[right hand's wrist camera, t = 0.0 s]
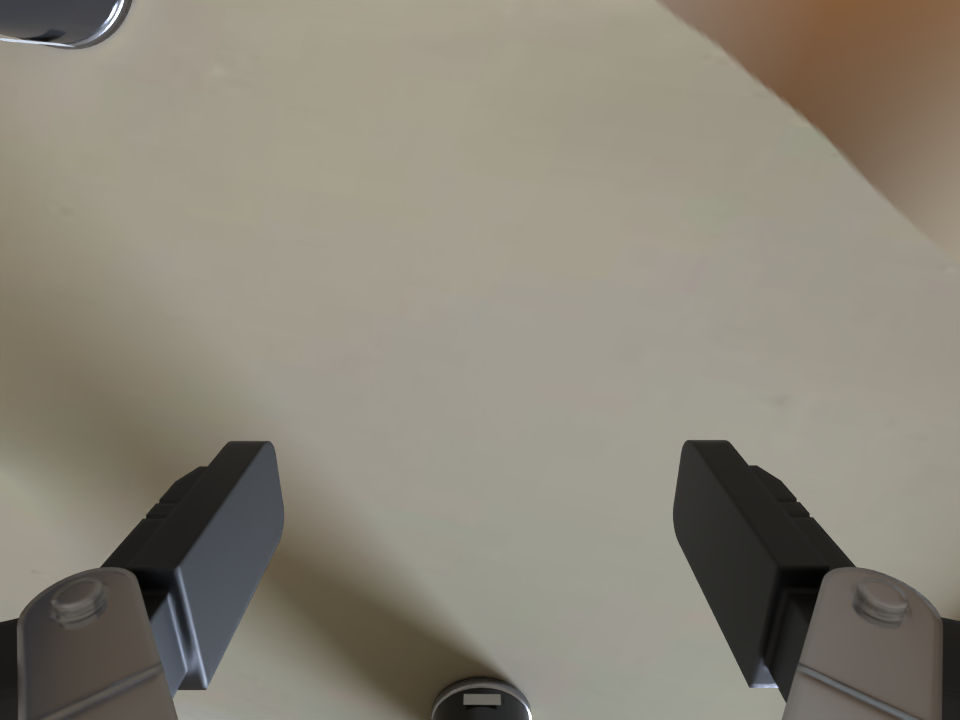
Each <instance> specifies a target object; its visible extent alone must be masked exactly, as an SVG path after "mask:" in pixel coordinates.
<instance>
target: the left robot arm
mask: <svg viewBox="0 0 960 720" xmlns="http://www.w3.org/2000/svg"><path fill="white" fill-rule="evenodd" d="M131 3H132V0H0V34H1V35H6V36H11V37H16V38H20V39H23V40H14V39H2V38H0V40H4V41H11V42H23V43H35V44H41V45H45V46H50V47H55V48H61V49H83V48H87V47H91V46H94V45H96V44H98V43H100V42H102V41H104V40H106V39H107V38H109V37H110V36H111V35H112V34H113V33H114V32H115V31H116V30H117V29H118V28H119V27H120V25H121V24H122V22H123V21H124V19H125V17H126V16H127V14H128V11H129V9H130V6H131ZM26 40H27V41H26Z"/></svg>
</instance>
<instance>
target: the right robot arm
mask: <svg viewBox="0 0 960 720" xmlns="http://www.w3.org/2000/svg"><path fill="white" fill-rule="evenodd" d="M673 522H674V529H675V533H676V537H677V540H678V542H679V544H680V546H681V548H682V550H683V552H684V554H685V556H686V558H687V561H688V563H689V565H690V567H691V569H692V571H693V573H694V575H695V577H696V579H697V581H698V583H699V585H700V587H701V589H702V591H703V593H704V595H705V597H706V599H707V602H708V604H709V606H710V608H711V610H712V612H713V614H714V616H715V618H716V620H717V622H718V624H719V626H720V628H721V630H722V632H723V634H724V636H725V638H726V640H727V643H728V645H729V647H730V649H731V651H732V653H733V655H734V657H735V659H736V661H737V663H738V665H739V667H740V669H741V671H742V673H743V675H744V677H745V679H746V681H747V684H748V686H749V688H778V689H779V691H780V692H781V694H782V696H783V698H784V700H785V702H786V707H785V710H784V714H783V717H782V720H960V621H956V620H951V619H947V618H942V617H940V614H939V613H938V611H937V610H936V608H935V607H934V606H933V605H932V604H931V603H930V602H929V600H927V599H926V598H925V597H924V596H923V595H922V594H920V593H919V592H918V591H916V590H915V589H913V588H912V587H910V586H909V585H907V584H905V583H903V582H901V581H899V580H897V579H895V578H893V577H891V576H888V575H886V574H883V573H880V572H877V571H874V570H869V569H865V568H858V567H856V566H855V565H854V564H853V563H852V562H851V561H850V559H849V558H848V557H847V556H846V555H845V554H844V553H843V551H842V550H841V549H840V548H839V547H838V546H837V545H836V543H835V542H834V541H833V540H832V539H831V538H830V536H829V535H828V534H827V533H826V532H825V531H824V530H823V528H822V527H821V526H820V525H819V524H818V523H817V522H816V520H815V519H814V518H813V517H810V516H809V512H808V511H807V510H806V509H805V508H804V507H803V505H802V504H801V503H800V502H797V500H796V497H795V496H794V495H793V494H792V493H791V492H790V491H789V489H788V488H787V487H786V486H785V485H784V484H783V482H782V481H781V480H779V479H777V478H776V477H774V476H773V475H771V474H769V473H768V472H766V471H765V470H763V469H762V468H760V467H758V466H749V465H748V464H747V463H746V462H745V460H744V459H743V458H742V457H741V456H740V454H739V453H738V452H737V451H736V449H735V448H734V447H733V446H732V444H731V443H730V442H729V441H727V440H687V441H686V442H685V443H684V445H683V448H682V452H681V458H680V465H679V472H678V479H677V486H676V493H675V500H674V507H673ZM283 524H284V507H283V500H282V494H281V487H280V480H279V473H278V467H277V460H276V453H275V449H274V446H273V444H272V443H271V442H270V441H230V442H228V443H227V444H226V445H225V446H224V447H223V449H222V450H221V451H220V452H219V453H218V455H217V456H216V457H215V458H214V460H213V461H212V462H211V463H210V464H209V466H208V467H198V468H197V469H195V470H193V471H192V472H190V473H189V474H187V475H186V476H184V477H182V478H181V479H179V480H178V481H176V482H175V483H174V484H173V485H172V486H171V487H170V488H169V490H168V491H167V492H166V493H165V494H164V495H163V496H162V498H161V499H160V502H159V504H155V506H154V507H153V508H152V509H151V510H150V511H149V512H148V514H147V515H146V519H142V520H141V521H140V523H139V524H138V525H137V526H136V527H135V528H134V529H133V531H132V532H131V533H130V534H129V535H128V536H127V537H126V539H125V540H124V541H123V542H122V543H121V544H120V545H119V547H118V548H117V549H116V550H115V551H114V552H113V553H112V555H111V556H110V557H109V558H108V559H107V560H106V561H105V562H104V564H103V565H102V566H101V567H100V568H95V569H91V570H86V571H83V572H80V573H77V574H74V575H72V576H69V577H67V578H65V579H63V580H61V581H59V582H57V583H55V584H53V585H51V586H50V587H48V588H47V589H45V590H44V591H42V592H41V593H40V594H38V595H37V596H36V597H35V598H34V599H33V600H31V602H30V603H29V604H28V605H27V606H26V607H25V608H24V610H23V611H22V613H21V614H20V617H19V618H17V619H13V620H9V621H4V622H0V720H178V717H177V714H176V710H175V707H174V703H173V700H172V699H173V697H174V695H175V693H176V691H177V690H206V689H207V687H208V685H209V683H210V681H211V679H212V677H213V675H214V673H215V671H216V669H217V667H218V665H219V663H220V661H221V659H222V657H223V655H224V653H225V651H226V649H227V646H228V644H229V642H230V640H231V638H232V636H233V634H234V632H235V630H236V628H237V626H238V624H239V622H240V620H241V618H242V616H243V614H244V612H245V610H246V608H247V606H248V604H249V602H250V600H251V598H252V596H253V594H254V592H255V590H256V588H257V586H258V584H259V582H260V580H261V578H262V576H263V574H264V572H265V570H266V567H267V565H268V563H269V561H270V559H271V557H272V555H273V553H274V551H275V549H276V547H277V545H278V543H279V541H280V538H281V535H282V530H283ZM431 720H531V709H530V705H529V703H528V700H527V699H526V697H525V696H524V695H523V694H522V693H521V692H520V691H519V690H518V689H517V688H515V687H514V686H512V685H510V684H508V683H505V682H503V681H499V680H495V679H488V678H475V679H468V680H464V681H460V682H458V683H455V684H453V685H451V686H449V687H448V688H446V689H445V690H444V691H443V692H442V693H441V694H440V695H439V696H438V697H437V699H436V700H435V702H434V705H433V708H432V718H431Z"/></svg>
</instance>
